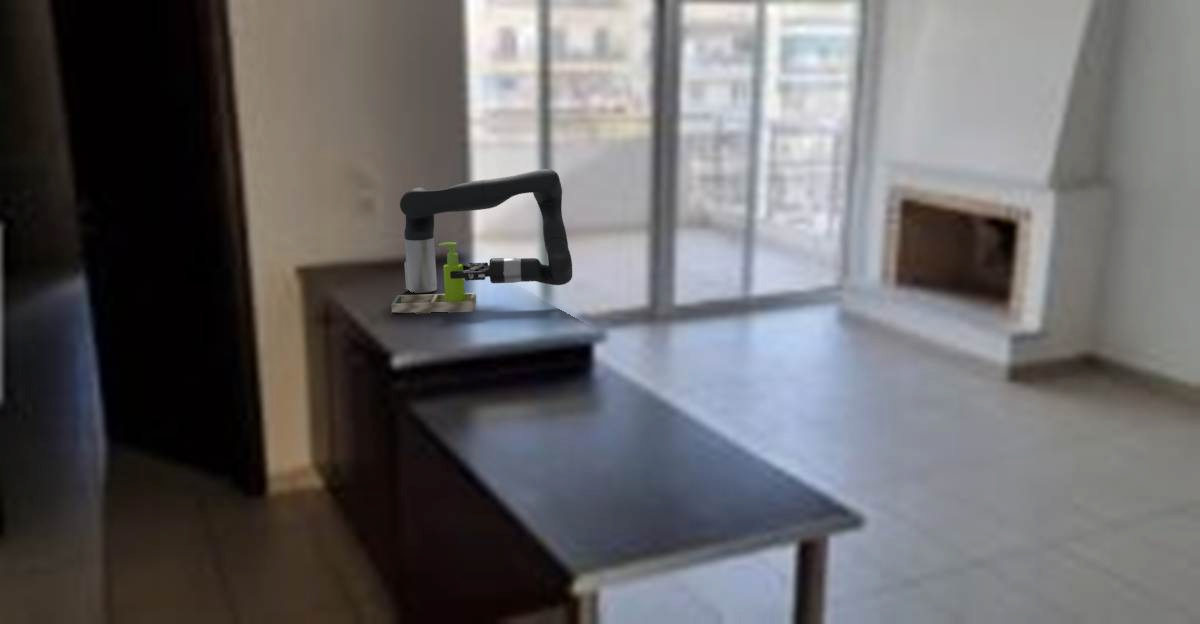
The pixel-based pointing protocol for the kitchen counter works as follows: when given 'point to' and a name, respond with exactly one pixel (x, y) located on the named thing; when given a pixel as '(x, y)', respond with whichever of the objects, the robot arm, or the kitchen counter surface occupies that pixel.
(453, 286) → the soap dispenser
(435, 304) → the caddy
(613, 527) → the kitchen counter surface
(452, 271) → the robot arm
